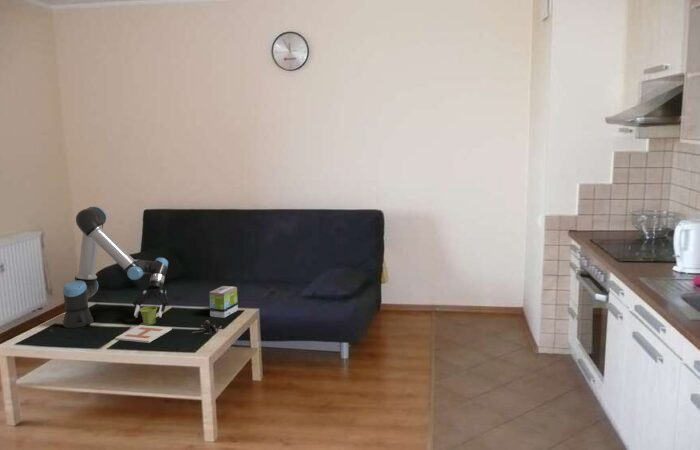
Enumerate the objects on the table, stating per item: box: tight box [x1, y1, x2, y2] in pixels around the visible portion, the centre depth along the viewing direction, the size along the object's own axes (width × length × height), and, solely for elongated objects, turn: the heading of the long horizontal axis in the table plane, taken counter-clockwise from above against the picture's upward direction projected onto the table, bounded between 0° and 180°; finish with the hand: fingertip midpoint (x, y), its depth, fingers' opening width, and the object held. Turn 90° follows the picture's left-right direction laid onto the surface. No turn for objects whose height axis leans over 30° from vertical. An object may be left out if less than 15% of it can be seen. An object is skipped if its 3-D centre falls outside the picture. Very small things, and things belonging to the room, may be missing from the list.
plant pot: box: [139, 305, 158, 326], centre depth 315 cm, size 9×9×9 cm
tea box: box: [209, 285, 239, 319], centre depth 330 cm, size 15×10×15 cm
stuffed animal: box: [191, 320, 222, 335], centre depth 302 cm, size 12×10×12 cm
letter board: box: [114, 324, 173, 344], centre depth 298 cm, size 20×20×1 cm
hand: (147, 316), depth 313 cm, fingers open, 13 cm apart
